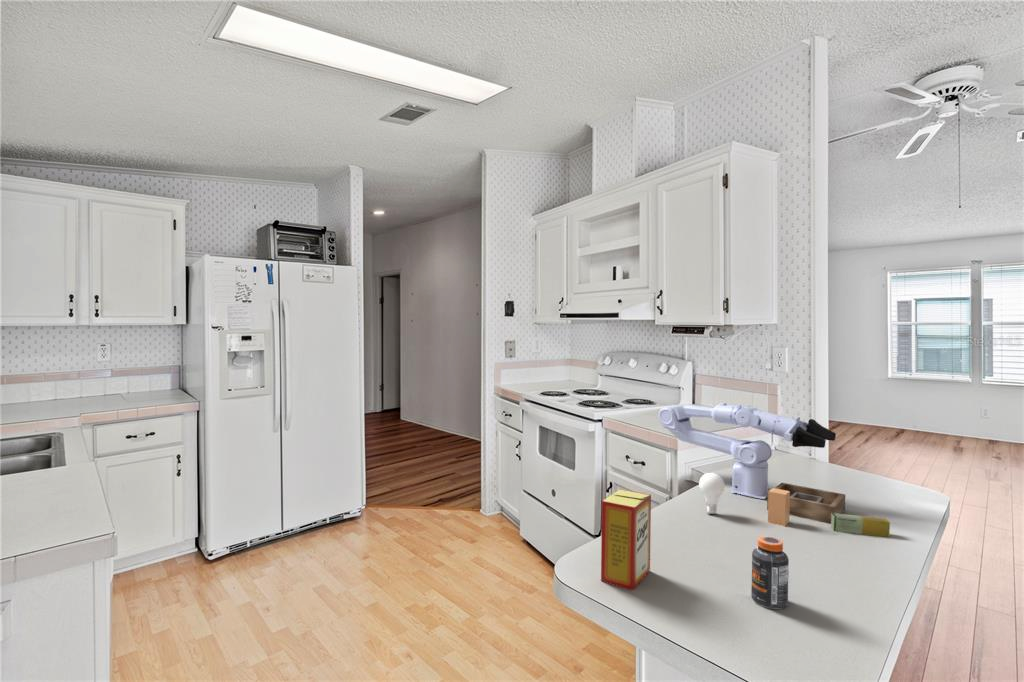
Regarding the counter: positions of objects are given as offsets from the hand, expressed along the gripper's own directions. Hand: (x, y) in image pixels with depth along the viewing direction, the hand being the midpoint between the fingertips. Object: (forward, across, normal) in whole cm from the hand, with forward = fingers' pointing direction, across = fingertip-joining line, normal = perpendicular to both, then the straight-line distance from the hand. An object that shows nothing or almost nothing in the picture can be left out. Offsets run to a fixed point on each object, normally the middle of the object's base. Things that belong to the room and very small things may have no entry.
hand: (830, 440), depth 141 cm
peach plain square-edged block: (-3, -21, +18) cm, 28 cm away
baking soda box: (-10, -75, +13) cm, 77 cm away
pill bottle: (+12, -63, +10) cm, 65 cm away
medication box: (+13, -12, +17) cm, 24 cm away
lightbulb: (-17, -29, +19) cm, 38 cm away
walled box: (-1, -6, +20) cm, 20 cm away
